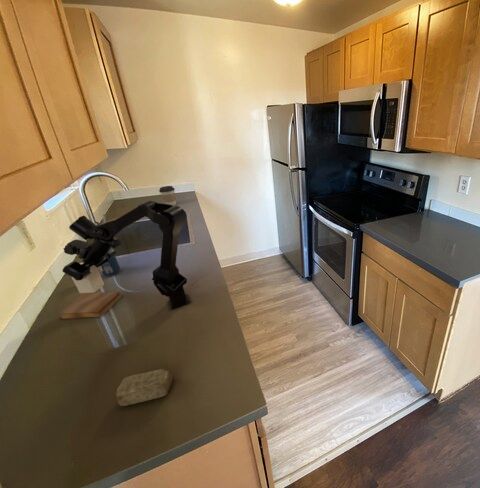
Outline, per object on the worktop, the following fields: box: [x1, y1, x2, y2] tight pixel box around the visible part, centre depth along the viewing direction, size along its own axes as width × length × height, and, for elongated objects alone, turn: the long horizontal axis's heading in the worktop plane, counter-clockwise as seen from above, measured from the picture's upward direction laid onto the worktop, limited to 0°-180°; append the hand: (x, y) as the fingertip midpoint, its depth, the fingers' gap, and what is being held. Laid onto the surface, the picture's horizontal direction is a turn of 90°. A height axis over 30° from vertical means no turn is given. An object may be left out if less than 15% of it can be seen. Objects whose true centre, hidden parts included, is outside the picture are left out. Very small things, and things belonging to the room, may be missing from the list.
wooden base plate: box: [58, 291, 122, 320], centre depth 105 cm, size 14×12×2 cm
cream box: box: [71, 262, 105, 294], centre depth 104 cm, size 6×6×10 cm
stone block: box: [115, 367, 173, 407], centre depth 70 cm, size 6×12×5 cm, turn 106°
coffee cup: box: [158, 185, 177, 206], centre depth 225 cm, size 11×11×15 cm
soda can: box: [98, 255, 121, 277], centre depth 127 cm, size 7×7×12 cm
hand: (82, 275), depth 103 cm, fingers closed on cream box, 5 cm apart
